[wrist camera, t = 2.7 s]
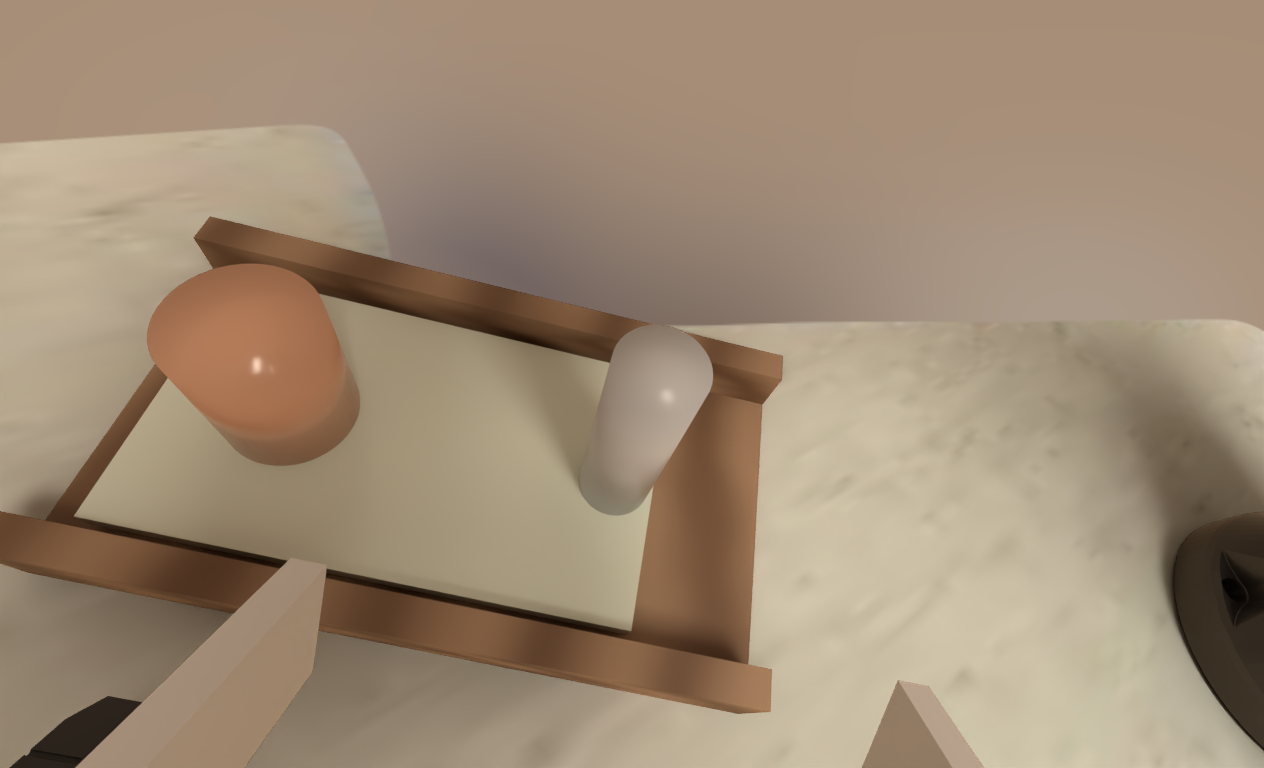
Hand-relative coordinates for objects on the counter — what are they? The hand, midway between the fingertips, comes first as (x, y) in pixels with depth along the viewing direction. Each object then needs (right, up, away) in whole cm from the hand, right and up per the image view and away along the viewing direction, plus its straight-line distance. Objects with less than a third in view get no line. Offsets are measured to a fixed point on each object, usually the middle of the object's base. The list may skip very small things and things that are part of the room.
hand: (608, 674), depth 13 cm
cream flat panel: (-10, +3, +17) cm, 20 cm away
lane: (-9, +2, +18) cm, 20 cm away
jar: (-16, +5, +15) cm, 23 cm away
